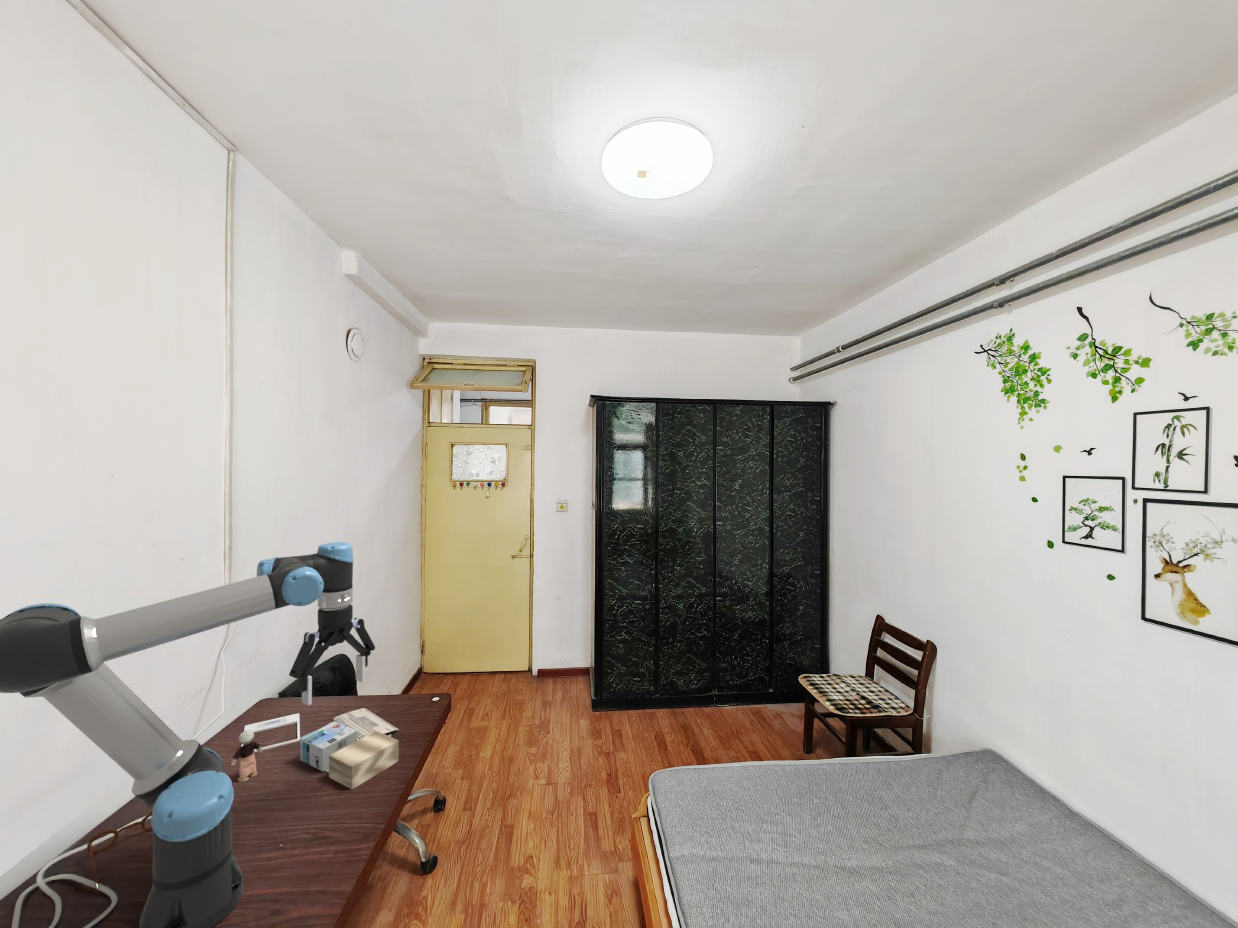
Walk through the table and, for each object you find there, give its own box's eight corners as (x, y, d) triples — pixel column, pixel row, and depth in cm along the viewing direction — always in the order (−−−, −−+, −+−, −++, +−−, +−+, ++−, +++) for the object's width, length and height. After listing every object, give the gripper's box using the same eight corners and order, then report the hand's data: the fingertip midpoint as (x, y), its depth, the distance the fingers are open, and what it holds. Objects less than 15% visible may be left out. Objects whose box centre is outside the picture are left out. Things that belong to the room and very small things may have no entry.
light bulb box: (322, 748, 136) (298, 737, 141) (322, 772, 136) (298, 760, 141) (358, 729, 146) (334, 719, 151) (358, 752, 146) (334, 741, 151)
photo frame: (299, 712, 167) (299, 738, 152) (299, 715, 167) (299, 741, 152) (244, 724, 159) (239, 753, 144) (244, 728, 159) (239, 757, 144)
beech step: (352, 789, 130) (352, 766, 130) (329, 777, 135) (329, 755, 135) (398, 760, 142) (398, 740, 142) (375, 750, 147) (375, 730, 147)
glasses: (167, 823, 118) (167, 802, 118) (180, 851, 110) (180, 829, 110) (86, 858, 108) (86, 835, 108) (94, 892, 99) (94, 867, 99)
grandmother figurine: (253, 767, 138) (253, 722, 138) (264, 769, 138) (265, 724, 137) (226, 785, 131) (226, 737, 131) (238, 787, 130) (238, 739, 130)
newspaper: (327, 725, 161) (327, 717, 161) (365, 714, 171) (365, 707, 171) (360, 751, 148) (361, 742, 148) (400, 737, 157) (400, 729, 157)
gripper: (290, 623, 110) (290, 718, 111) (389, 596, 132) (389, 675, 133) (272, 617, 114) (271, 709, 114) (371, 592, 136) (371, 669, 136)
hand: (334, 691), depth 123 cm, fingers open, 13 cm apart
